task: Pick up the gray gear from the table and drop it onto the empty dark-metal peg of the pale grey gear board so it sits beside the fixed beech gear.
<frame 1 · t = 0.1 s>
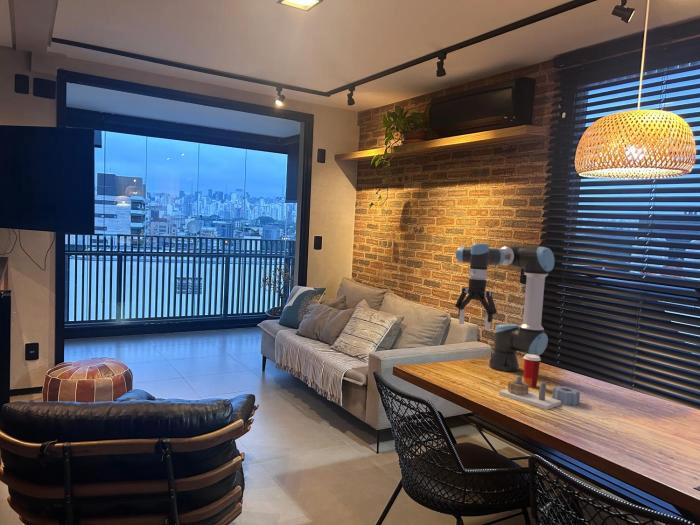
hand: (474, 326, 225), 28 cm above the table, fingers open, 13 cm apart
gear board: (529, 399, 217), on the table
beech gear: (517, 392, 221), resting on gear board
gray gear: (565, 401, 217), on the table
paper cup: (529, 385, 238), on the table
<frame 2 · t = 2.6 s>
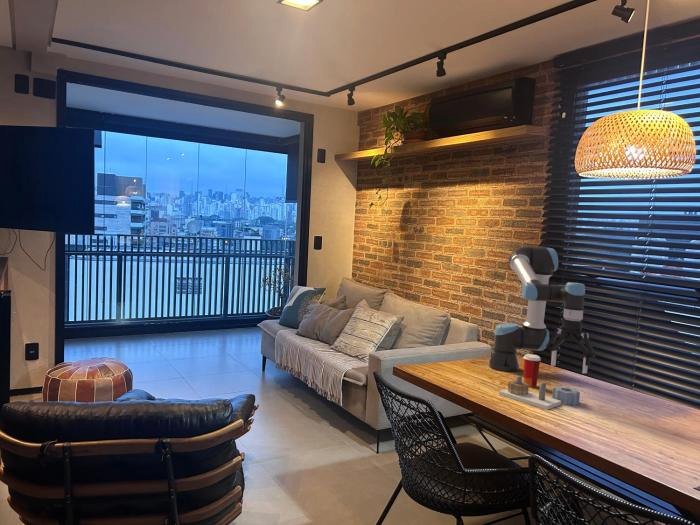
hand: (568, 369, 216), 14 cm above the table, fingers open, 13 cm apart
nothing on the table moved.
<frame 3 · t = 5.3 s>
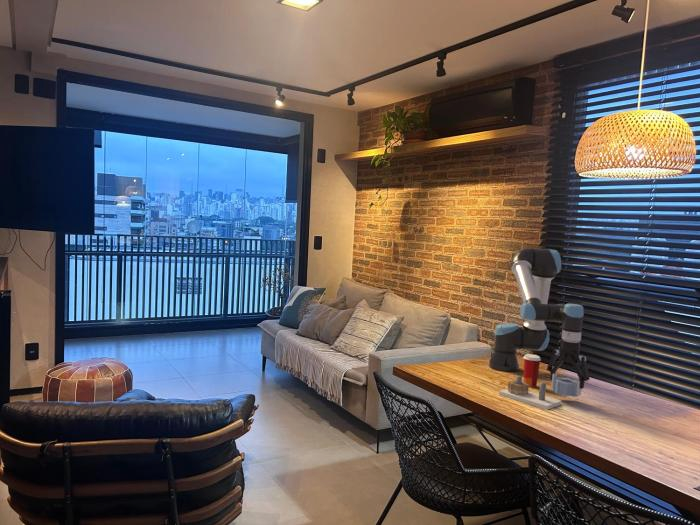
hand: (565, 391, 218), 4 cm above the table, fingers closed on gray gear, 10 cm apart
gray gear: (565, 392, 218), point 4 cm above the table, touching gripper
everything else where it was.
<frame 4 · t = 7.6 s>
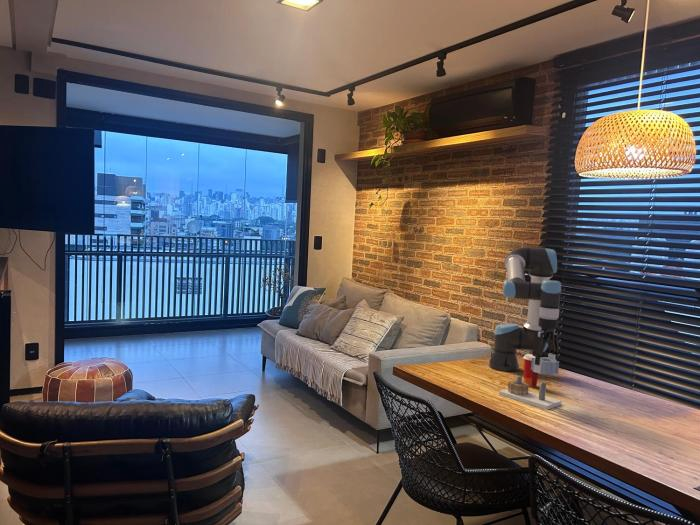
hand: (544, 370, 212), 14 cm above the table, fingers closed on gray gear, 10 cm apart
gray gear: (544, 371, 212), point 13 cm above the table, touching gripper
everything else where it was.
when the fingers open (4 cm above the table, at t = 9.7 s): gray gear drops 3 cm, resting on gear board.
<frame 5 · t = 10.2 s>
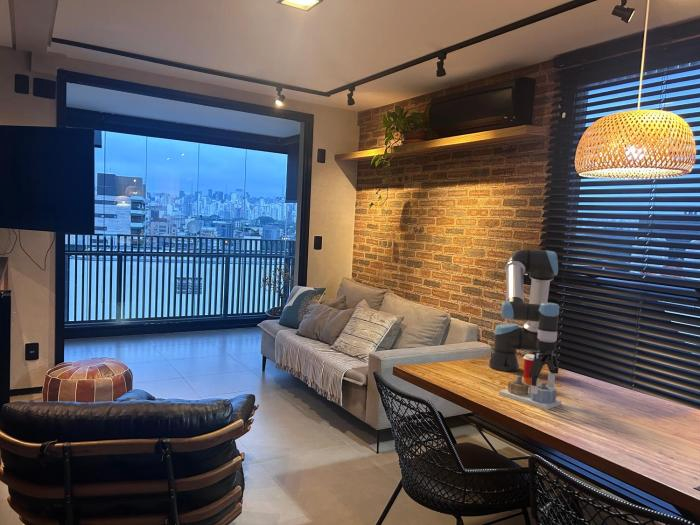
hand: (542, 390, 213), 5 cm above the table, fingers open, 13 cm apart
gray gear: (542, 399, 213), point 1 cm above the table, touching gear board
everything else where it was.
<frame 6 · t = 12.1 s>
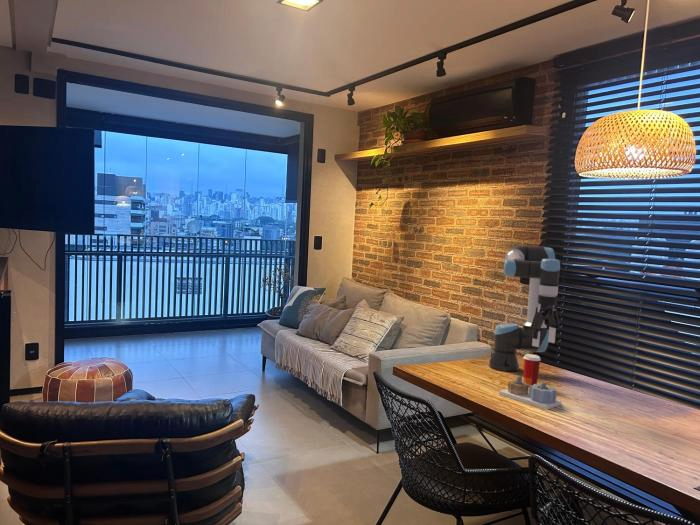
hand: (543, 344, 219), 23 cm above the table, fingers open, 13 cm apart
nothing on the table moved.
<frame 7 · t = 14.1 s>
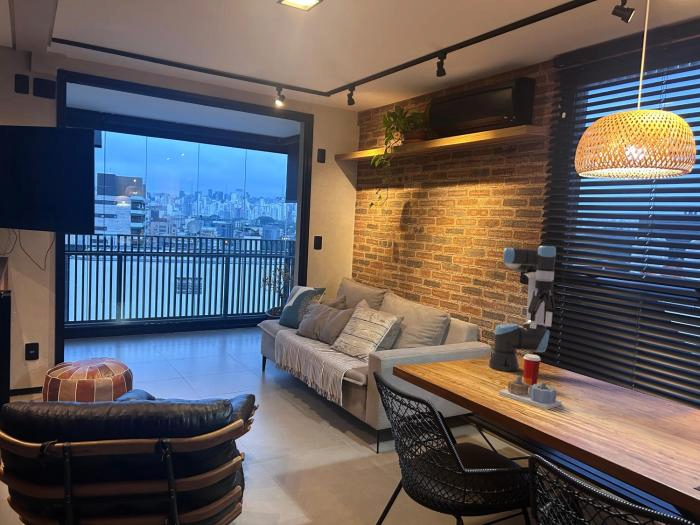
hand: (540, 327, 230), 29 cm above the table, fingers open, 13 cm apart
nothing on the table moved.
at the end: gray gear 0.1 cm from the target spot on the gear board, point 1.5 cm above the gear board's base; gray gear tilted 0°; the gripper is holding nothing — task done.
